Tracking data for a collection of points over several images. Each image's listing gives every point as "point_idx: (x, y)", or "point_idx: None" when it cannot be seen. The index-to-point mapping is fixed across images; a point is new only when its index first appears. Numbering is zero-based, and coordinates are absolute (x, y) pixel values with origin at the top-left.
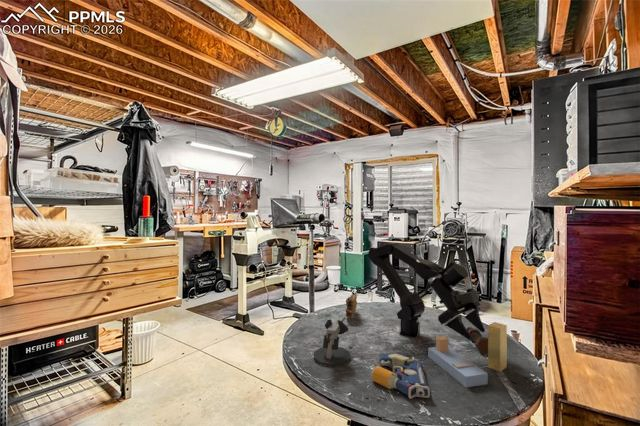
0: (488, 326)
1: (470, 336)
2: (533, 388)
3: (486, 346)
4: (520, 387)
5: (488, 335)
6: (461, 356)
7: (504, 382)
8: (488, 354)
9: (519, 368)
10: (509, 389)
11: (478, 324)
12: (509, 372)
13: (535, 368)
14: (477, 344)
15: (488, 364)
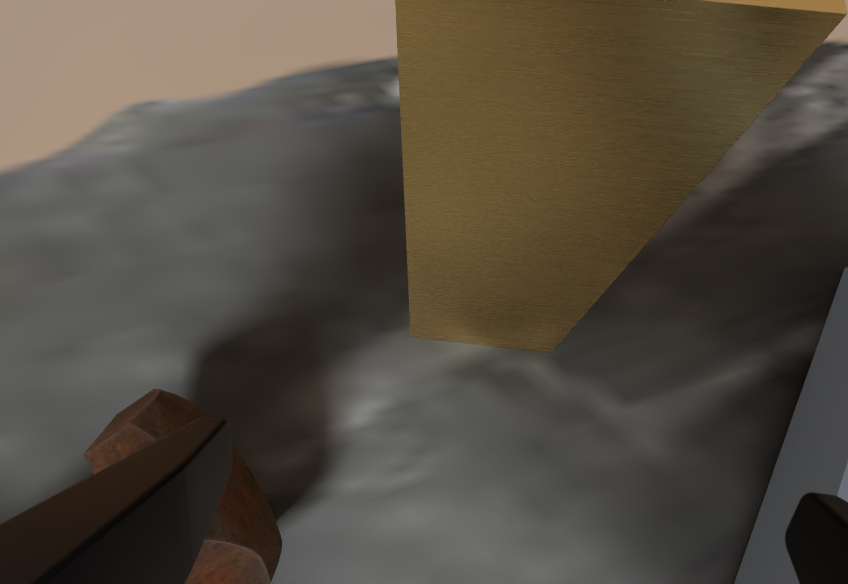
0: (827, 31)
1: (840, 509)
2: None
3: None
4: None
5: (694, 180)
6: None
7: (699, 190)
8: (587, 307)
9: (369, 165)
10: (765, 145)
11: (130, 577)
12: None
13: (281, 88)
14: (268, 557)
15: (559, 341)
